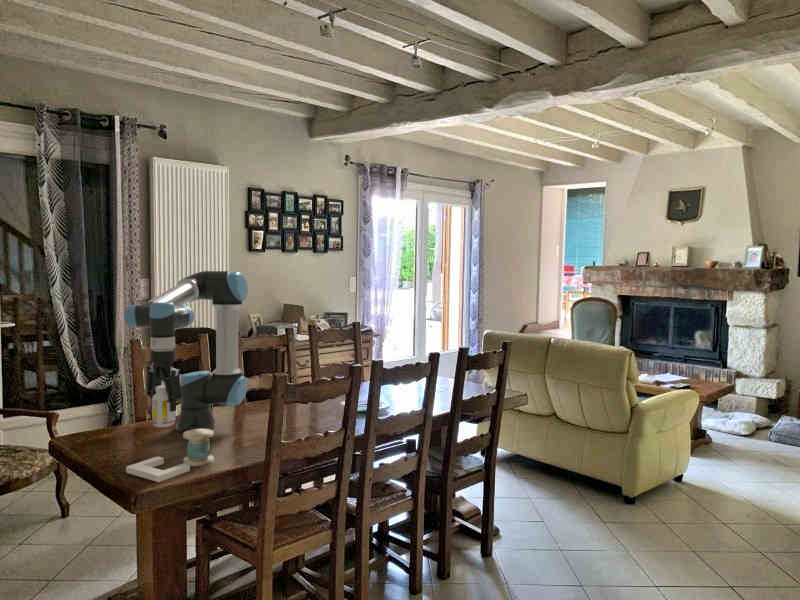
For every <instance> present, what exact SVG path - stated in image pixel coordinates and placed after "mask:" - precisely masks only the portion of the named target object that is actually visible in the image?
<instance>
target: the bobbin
mask: <svg viewBox="0 0 800 600" xmlns="http://www.w3.org/2000/svg"><path fill="white" fill-rule="evenodd" d="M214 436H215V435H214V430H213V429H212V430H211V429H193V430H188V431H186V432H184V433H182V438H183V439H185V440H188V441H187V447H186V448H187V456H186V457H184V458H183V461H182V464H183V463H185V464H188V465H190V467H203V466H207V465H209V464H212V463H213V462H214V461H215V457H214V455H212V454H211V453H210V451H211V449H210V444H211V443H210V439H209V438H212V437H214Z"/></svg>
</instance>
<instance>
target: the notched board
mask: <svg viewBox="0 0 800 600" xmlns="http://www.w3.org/2000/svg"><path fill="white" fill-rule="evenodd" d="M164 462H165V460H164V457H161V456H154V457H151V458H149V459H145V460H142V461H139V462H136V463H133V464H129V465H127V466H126V467H125V472H126V473H127V474H130V475H133V476H137V477H140V478H144V479H146V480H151V481H153V482H156V483H160V482H164V481H166V480H168V479H171V478H174V477H177V476H180V475H183V474H186V473H187V472H191V466H190V465H188V464H185V463H183V462H182V463H180V464H177V465H175V466H172V467H169V468H165V469H160V468H155V467H157V466H161V465H164Z"/></svg>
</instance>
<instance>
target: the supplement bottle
mask: <svg viewBox="0 0 800 600" xmlns="http://www.w3.org/2000/svg"><path fill="white" fill-rule="evenodd" d="M155 390H156V394H155V395H153V397H152V404H153V418H152V426H153V427H155V428H169V427H171V426H173V425H174V424H175V422H176V420H174V421H170V422H167V401H168V400H169V399H168V395H167V391H166V387H165V384H161V385H159V386H156V387H155Z"/></svg>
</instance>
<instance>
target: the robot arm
mask: <svg viewBox="0 0 800 600" xmlns="http://www.w3.org/2000/svg"><path fill="white" fill-rule="evenodd" d="M248 292H249V291H248V283H247V280H246V277H245V276H244V275H243V274H242V273H241V272H240V271H234V270H233V271H231V270H228V271H225V270H223V271H222V270H218V271H217V270H205V271H204V270H202V271H199V272H196V273H194V274H190V275H188V276H186V277H183V278H182V279H180V280H179V281H178V282H177V283H176V285H175V286H172V288H169V289H167V290H166V291H164V292H162V293H161V294H159V295H156V296H155V297H153V298H151V299H150V300H148V301H146V302H145V303H142V304H132V305H128V306H127V307H126V308H125V310H124V313H123V318H124V323H125V324H126V325H127V326H129V327H135V328H149V329H150V330H149V332H150V334H149V335H150V336H149V338H150V345H149V346H150V348H149V349H151V351H150V353H149V354H150V355H149V356H150V357H149V358H150V362H151V363H152V365H148V366H146V367H145V368H146V373H147V374H146V392H145V394H146V396H149V398H150V400H151V402H150V404H151V406H150V407H151V415H152V416H151V417H152V419H153V404H152V397H153V395H155V394H156V390H155V387H156V386H159V385H162V383H164V385H165V387H166V391H167V395H168V399H169V400H168V401H167V422H170V421H174V420H175V421H176V423H175V425H176V426H175V427H176V428H175V431H177V432H179V433H182V434H183V433H184V432H186V431H188V430H193V429H211V430H213V429H215V428H216V421H215V419H214V414H213V412H212V409H211V405H222V406H223V405H224V406H226V405H227V406H238V405H240V404H241V403H242V402H243V400H244V399H245V397H246V394H247V391H248V385H249V384H248V379H247V377H246V376H244V375H243V371H242V370H241V368H239V309H240V308H241V306H243V302H244V301H245V300H247V297H248V294H249V293H248ZM196 300H198V301H200V300H206V301H207V300H208V301H209V300H210V301H211V303H212V306H213V307H214V308H215V329H216V330H215V331H216V332H215V334H216V335H215V345H216V346H215V347H216V348H215V349H216V350H215V351H216V352H215V353H216V354H215V355H216V356H215V364H216V365H215V367H216V368H215V369H213V371H212V373H211V372H210V371H209V370H199V371H193V372H188V373H185V374H183V375H181V377H180V374H181V369H180V368H175V367H174V362H175V360H176V350H175V348H176V329H180V328H181V329H182V328H186V327H188V326H191V325H192V324H193V322H194V319H195V313H194V310H193V309H192V308H191V307H190V306H189V305H186V304H187V303H192V302H195V301H196ZM178 400H180V405H179V406H180V409H179V410H180V412H179V415H178V418H177V420H176V412H177V401H178Z"/></svg>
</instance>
